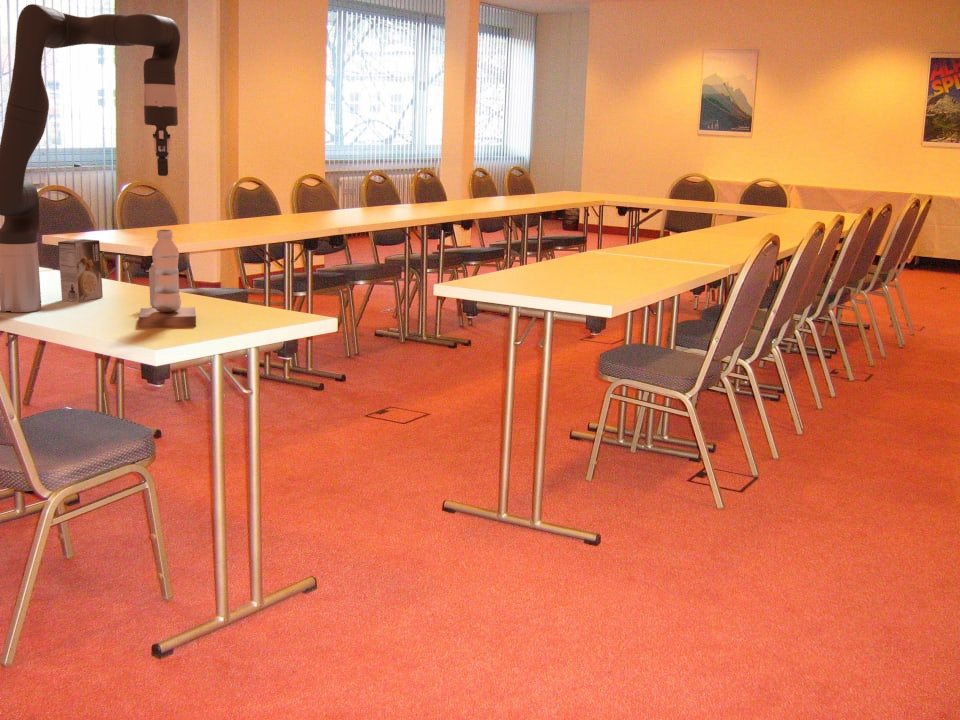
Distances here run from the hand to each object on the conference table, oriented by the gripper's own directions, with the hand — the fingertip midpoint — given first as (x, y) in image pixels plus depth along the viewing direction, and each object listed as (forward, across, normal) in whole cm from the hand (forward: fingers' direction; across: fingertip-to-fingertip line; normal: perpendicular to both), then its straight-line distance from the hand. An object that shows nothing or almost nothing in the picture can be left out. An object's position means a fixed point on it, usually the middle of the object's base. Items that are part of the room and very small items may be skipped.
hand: (163, 175), depth 238 cm
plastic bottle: (+33, 0, 0) cm, 33 cm away
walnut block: (+36, 0, 0) cm, 36 cm away
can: (+36, -22, -1) cm, 42 cm away
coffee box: (+36, -39, -23) cm, 58 cm away
